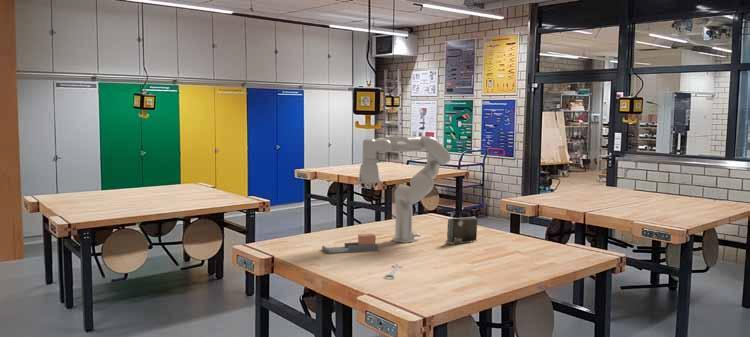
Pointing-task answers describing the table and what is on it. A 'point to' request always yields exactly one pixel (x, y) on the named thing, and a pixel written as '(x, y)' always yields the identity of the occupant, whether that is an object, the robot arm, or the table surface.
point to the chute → (351, 248)
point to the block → (366, 239)
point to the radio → (461, 230)
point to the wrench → (393, 271)
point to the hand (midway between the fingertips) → (368, 194)
